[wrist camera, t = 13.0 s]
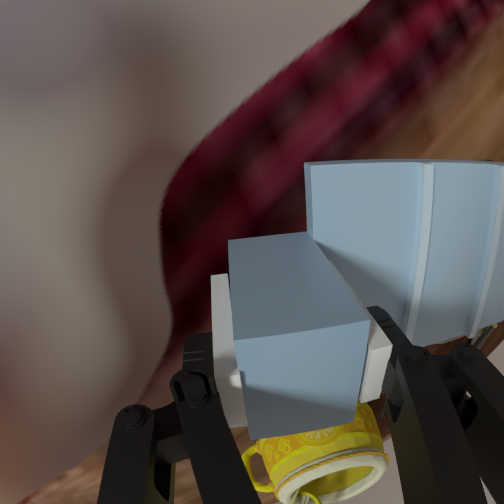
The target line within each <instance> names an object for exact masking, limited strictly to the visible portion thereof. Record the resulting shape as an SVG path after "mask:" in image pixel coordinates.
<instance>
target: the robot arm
mask: <svg viewBox="0 0 504 504" xmlns="http://www.w3.org/2000/svg"><path fill="white" fill-rule="evenodd" d="M329 262H330V263H331V264H332V266H333V267H334V269H335V270H336V271H337V273H338V274H339V276H340V277H341V278H342V280H343V281H344V282H345V284H346V285H347V287H348V288H349V290H350V291H351V292H352V294H353V295H354V297H355V298H356V299H357V301H358V302H359V304H360V305H361V307H362V308H363V310H364V311H365V312H366V314H367V315H368V317H369V318H370V328H369V335H368V342H367V349H366V356H365V362H364V368H363V374H362V380H361V385H360V391H359V396H358V398H359V400H360V402H361V403H364V402H368V401H371V400H375V399H378V398H379V397H380V393H381V390H382V389H383V391H384V393H385V395H386V398H385V402H384V405H383V408H382V411H381V418H383V417H384V414H385V411H386V415H387V419H388V423H389V428H390V432H391V437H392V441H393V446H394V451H395V455H396V460H397V465H398V470H399V476H400V481H401V487H402V492H403V498H404V504H487V500H486V496H485V493H484V489H483V486H482V483H481V479H482V481H483V482H484V484H485V485H486V487H487V489H488V490H489V492H490V494H491V495H492V497H493V499H494V500H495V502H496V504H504V376H503V375H502V374H501V373H500V372H499V371H498V370H497V368H496V367H495V366H494V365H493V364H492V363H491V362H490V361H489V360H488V359H487V358H486V357H485V356H484V355H483V354H482V352H481V351H480V350H479V349H477V348H476V347H475V346H473V345H471V344H467V343H460V344H457V345H455V346H453V348H452V350H451V352H450V354H448V355H431V354H430V352H429V351H428V350H426V349H425V348H423V347H420V346H417V345H413V344H412V343H411V342H410V341H409V339H408V338H407V337H406V335H405V334H404V333H403V332H402V330H401V329H400V328H399V326H397V324H396V323H395V321H394V320H392V318H391V316H390V315H389V314H388V313H387V311H385V310H384V309H382V308H380V307H379V306H377V305H376V306H371V307H365V306H364V304H363V303H362V302H361V300H360V299H359V298H358V296H357V295H356V294H355V292H354V291H353V290H352V288H351V287H350V286H349V284H348V283H347V282H346V280H345V279H344V278H343V276H342V275H341V274H340V273H339V271H338V270H337V269H336V267H335V266H334V265H333V263H332V262H331V261H330V260H329ZM211 296H212V332H209V333H200V334H190V335H189V337H188V338H187V340H186V341H185V343H184V354H183V367H182V370H180V371H178V372H177V373H176V374H174V375H173V377H172V379H171V380H170V389H171V392H172V395H173V397H174V400H175V401H174V402H172V403H171V404H169V405H167V406H164V407H162V408H158V409H155V410H152V411H151V409H150V408H148V407H146V406H145V405H139V404H135V405H129V406H127V407H125V408H123V409H122V410H121V411H120V412H119V413H118V414H117V416H116V418H115V421H114V425H113V429H112V434H111V438H110V442H109V447H108V451H107V456H106V460H105V465H104V470H103V475H102V480H101V485H100V490H99V496H98V501H97V504H174V484H175V465H176V462H178V461H182V460H185V459H188V458H190V461H191V465H192V468H193V472H194V475H195V479H196V482H197V485H198V489H199V492H200V495H201V498H202V501H203V504H262V503H261V501H260V499H259V497H258V494H257V492H256V490H255V488H254V485H253V483H252V481H251V479H250V476H249V474H248V472H247V469H246V467H245V465H244V462H243V460H242V457H241V455H240V453H239V450H238V448H237V445H236V443H235V440H234V438H233V435H232V433H231V430H230V428H234V427H242V426H248V423H247V417H246V411H245V404H244V398H243V392H242V385H241V379H240V372H239V370H238V366H237V360H236V353H235V347H234V341H233V325H232V308H231V298H230V291H229V283H228V275H227V274H220V275H212V276H211ZM467 391H468V392H469V394H470V395H471V398H470V397H468V396H467V395H466V392H467ZM480 477H481V479H480Z"/></svg>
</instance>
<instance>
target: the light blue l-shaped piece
mask: <svg viewBox="0 0 504 504" xmlns="http://www.w3.org/2000/svg"><path fill="white" fill-rule="evenodd" d="M304 171H305V190H306V213H307V232H298V233H289V234H280V235H271V236H262V237H253V238H244V239H236V240H228V252H229V272H230V290H231V308H232V325H233V341H234V347H235V353H236V360H237V366H238V370H239V372H240V379H241V385H242V392H243V398H244V404H245V411H246V417H247V423H248V431H249V436H250V440H256V439H264V438H272V437H279V436H286V435H292V434H298V433H304V432H309V431H315V430H320V429H325V428H330V427H334V426H339V425H343V424H348V423H352V422H353V420H354V416H355V411H356V406H357V401H358V396H359V391H360V385H361V380H362V374H363V368H364V362H365V356H366V349H367V342H368V335H369V328H370V318H369V317H368V315H367V314H366V312H365V311H364V310H363V308H362V307H361V305H360V304H359V302H358V301H357V299H356V298H355V297H354V295H353V294H352V292H351V291H350V290H349V288H348V287H347V285H346V284H345V282H344V281H343V280H342V278H341V277H340V276H339V274H338V273H337V271H336V270H335V269H334V267H333V266H332V264H331V263H330V262H329V260H330V261H331V262H332V263H333V265H334V266H335V267H336V269H337V270H338V271H339V273H340V274H341V275H342V276H343V278H344V279H345V280H346V282H347V283H348V284H349V286H350V287H351V288H352V290H353V291H354V292H355V294H356V295H357V296H358V298H359V299H360V300H361V302H362V303H363V304H364V306H365V307H371V306H376V305H377V306H379V307H380V308H382V309H384V310H385V311H387V313H388V314H389V315H390V316H391V318H392V320H394V321H395V323H396V324H397V326H399V328H400V329H401V330H402V332H403V333H404V334H405V335H406V337H407V338H408V339H409V341H410V342H411V343H412V344H413V345H417V346H420V347H425V346H428V345H432V344H435V343H439V342H442V341H445V340H448V339H451V338H455V337H458V336H461V335H464V334H465V335H466V336H467V337H468V338H469V339H470V338H473V337H475V334H476V331H477V330H479V329H481V328H484V327H487V326H490V325H492V324H495V323H498V322H500V321H503V320H504V162H492V161H474V160H447V159H370V160H341V161H321V162H305V163H304Z"/></svg>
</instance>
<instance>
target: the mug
mask: <svg viewBox="0 0 504 504" xmlns="http://www.w3.org/2000/svg"><path fill="white" fill-rule="evenodd" d="M256 452H258V453H259V454H262V457H263V460H264V463H265V467H266V469H267V472H268V474H269V477H270V479H271V482H269V484H260V483H258V482H257V481H255V479H254V477H253V475H252V472H251V468H250V458H251V456H252V455H253V454H254V453H256ZM242 460H243V462H244V465H245V467H246V469H247V472H248V474H249V476H250V479H251V481H252V483H253V485H254V488H255V490H257V491H259V492H274V493H276V494H275V497H276V498H277V500H279V501H281V502H283V503H284V504H333V503H336V502H339V501H343V500H346V499H348V498H350V497H353V496H355V495H357V494H359V493H361V492H362V491H364V490H366V489H367V488H369V487H370V486H371V485H373V484H375V483H376V482H377V481H378V480H379V479H380V478H381V477H382V476H383V474H384V472H385V471H386V469H387V467H388V464H389V457H388V456H387V454H385V453H384V450H383V440H382V437H381V434H380V431H379V428H378V425H377V422H376V419H375V416H374V413H373V411H372V409H371V408H370V406H369V405H368V403H367V402H364V403H361V402H360V400H359V398H358V401H357V406H356V411H355V416H354V420H353V422H352V423H348V424H343V425H339V426H334V427H330V428H325V429H320V430H315V431H309V432H304V433H298V434H292V435H286V436H279V437H272V438H264V439H259V440H257V441H256V444H255V445H252V446H250V447H249V448H248V449H247V450H246V451H245V452H244V453H243V455H242Z"/></svg>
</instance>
